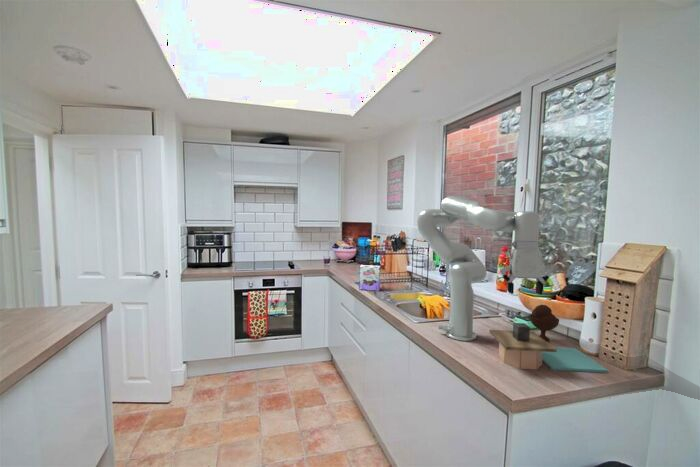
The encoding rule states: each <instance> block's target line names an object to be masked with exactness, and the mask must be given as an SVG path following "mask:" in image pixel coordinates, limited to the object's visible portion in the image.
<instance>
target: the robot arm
mask: <svg viewBox="0 0 700 467" xmlns="http://www.w3.org/2000/svg"><path fill="white" fill-rule="evenodd" d="M460 220H464V221H466V222H469V223H471V224H473V225H474V226H477V227H480V228H481V229H482V228H483V229H486V230H489V231H493V232H514V240H513V242H510V244H509V245H510V247H513V248H512V250H511V254H510V258H509V265H507V266H505V267H503V268H500V269H499V273H500V274H501V277H502V278H504V281H506V291H507V292H508V294H512V295H513V294H514V293H515V292H514V286H515V285H514V282H513V281H514V280H516V279H535V280H536V284H535V293H536V294H538V295H543V292H544V284H545V283H546V281H547V280H549V279H550V277H551V275H552V272H553V271H552V270H550V269H548V268H546V267H544V264H543V263H544V262H543V255H542V250H540V249H539V237H540V236H539V234H540V233H539V231H540V230H539V229H540V214H539V213H538V211H532V210H531V211H530V210H529V211H528V210H527V211H526V210H525V211H523V210H522V211H510V210H509V211H508V210H507V211H506V210H495V209H491V208H487V207H484V206H483V207H482V206H481V204H480V202H478V201H474V200H472V199H471V200H470V199H469V198H467V197H465V196H455V195H450V196H446V197H445V198H443V199H442V200H441V203H440V209H439V208H428V209H424V210H422V211H421V212H419V214H418V216H417V220H416V223H417V225H416V226H417V229H418V232H419V234H420V235H421V236H422V238H423V239H424V240H425V241H426V242H427V244H428V245H429V246H430V248H431V249H432V251H433V252H434V254H435V255H436V257H437V258H438V259H439V261H440V262H441V263H442V264H443V265H448V266H450V265H451V266H450V268H449V271H448V278H449V287H450V294H449V295H450V297H449V320H448V321H449V322H447V323H445V324H438V325H437V330H442V332H444V334H445V336H447V337H448V338H450V339H453V340H456V341H461V342H462V341H463V342H464V341H465V342H468V341H469V342H470V341H474V340H476V339H477V334H476V332H474V331H473V328H474V326H473V325H474V307H475V304H474V302H475V292H474V289H473V286H472V284H477V283H481V282H483V281H484V280H485V279H486V277H487V269H486V266H485V265H484V263H483V261H481V259H480V258H479V257H478V256H477V255H476V253H475V252H474V251H473V249H471V247H470V246H469V245H467V244H465V243H462V242H453V241H451V240H450V239H449V237H447V235H446V234H445V232H443V230H441V229H439V228H446V227H450V226H451V225H453V224H454V223H456V222H458V221H460ZM507 272H508V274H509V275H508V274H507Z"/></svg>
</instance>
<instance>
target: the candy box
mask: <svg viewBox="0 0 700 467" xmlns="http://www.w3.org/2000/svg"><path fill="white" fill-rule="evenodd" d="M358 277H359V278H358V280H359V282H358V290H359V291H370V290H375V291H374V292H380V289H381V287H380V286H381V265H369V264H368V265H367V264H366V265H365V264H360V266H359V276H358ZM361 289H362V290H361Z"/></svg>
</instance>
